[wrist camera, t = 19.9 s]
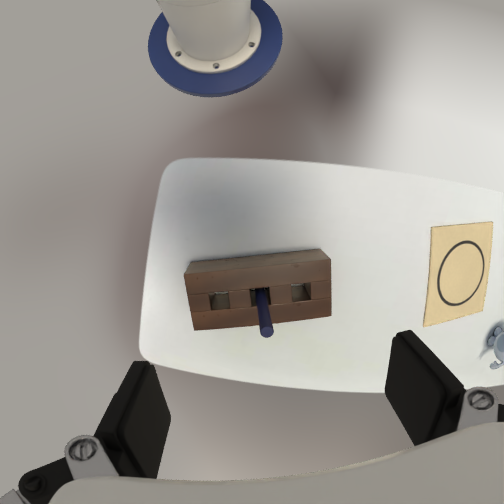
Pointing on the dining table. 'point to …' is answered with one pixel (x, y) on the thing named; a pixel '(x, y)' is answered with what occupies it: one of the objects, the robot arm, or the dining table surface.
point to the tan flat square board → (458, 271)
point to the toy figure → (497, 347)
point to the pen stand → (258, 276)
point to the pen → (263, 313)
